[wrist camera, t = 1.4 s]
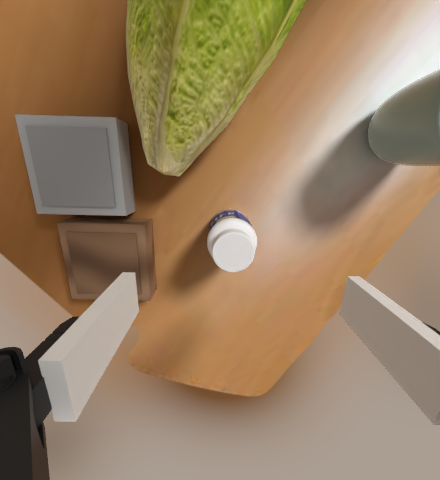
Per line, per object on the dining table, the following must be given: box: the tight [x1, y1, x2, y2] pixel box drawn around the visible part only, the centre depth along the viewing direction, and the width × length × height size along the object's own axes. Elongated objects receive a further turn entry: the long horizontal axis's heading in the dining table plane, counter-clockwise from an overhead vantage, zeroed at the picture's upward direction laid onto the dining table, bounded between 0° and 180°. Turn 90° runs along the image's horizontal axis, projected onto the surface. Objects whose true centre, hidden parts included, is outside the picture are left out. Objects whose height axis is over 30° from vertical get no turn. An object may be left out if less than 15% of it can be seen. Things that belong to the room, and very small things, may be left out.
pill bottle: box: [207, 209, 257, 272], centre depth 24 cm, size 5×5×9 cm
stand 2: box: [57, 218, 157, 301], centre depth 28 cm, size 10×10×3 cm
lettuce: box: [126, 0, 306, 176], centre depth 19 cm, size 12×24×13 cm
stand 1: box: [15, 114, 135, 216], centre depth 25 cm, size 10×10×3 cm
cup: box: [368, 69, 440, 166], centre depth 21 cm, size 8×8×10 cm
